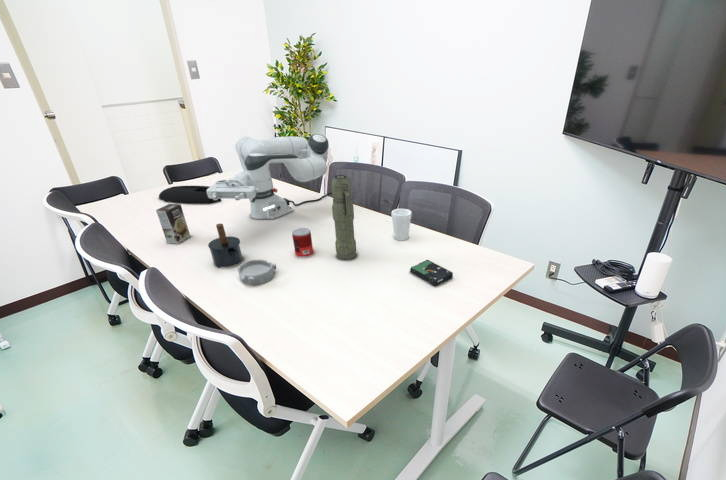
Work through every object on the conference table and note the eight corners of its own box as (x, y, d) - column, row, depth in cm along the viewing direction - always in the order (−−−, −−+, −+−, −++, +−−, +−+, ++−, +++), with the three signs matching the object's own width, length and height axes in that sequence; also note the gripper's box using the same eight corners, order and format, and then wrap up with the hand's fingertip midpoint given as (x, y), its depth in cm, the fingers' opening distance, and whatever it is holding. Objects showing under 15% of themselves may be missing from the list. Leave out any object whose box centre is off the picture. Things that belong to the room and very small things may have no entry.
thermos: (345, 263, 167) (339, 182, 147) (331, 254, 174) (322, 175, 155) (362, 257, 172) (358, 178, 152) (347, 248, 179) (341, 171, 160)
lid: (238, 236, 170) (233, 217, 165) (242, 248, 161) (237, 227, 156) (207, 242, 165) (201, 222, 160) (210, 254, 156) (204, 233, 151)
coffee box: (178, 244, 181) (167, 211, 172) (166, 243, 182) (154, 209, 173) (191, 236, 189) (181, 204, 180) (179, 235, 190) (169, 203, 181)
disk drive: (452, 278, 158) (427, 264, 167) (453, 272, 156) (427, 258, 165) (435, 287, 152) (409, 272, 161) (435, 281, 150) (409, 266, 159)
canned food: (316, 251, 176) (313, 228, 170) (307, 259, 170) (304, 235, 164) (301, 248, 178) (298, 226, 172) (292, 256, 172) (288, 233, 166)
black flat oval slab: (175, 188, 248) (172, 181, 245) (235, 192, 244) (233, 184, 241) (149, 202, 228) (146, 193, 225) (213, 206, 223) (211, 197, 220)
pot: (232, 251, 176) (227, 233, 171) (250, 263, 166) (246, 245, 162) (207, 259, 169) (201, 241, 164) (225, 273, 159) (220, 254, 155)
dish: (255, 290, 149) (252, 279, 146) (231, 280, 155) (228, 269, 152) (283, 274, 159) (281, 263, 156) (260, 265, 165) (258, 254, 162)
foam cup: (413, 235, 191) (414, 210, 184) (406, 243, 184) (406, 217, 177) (396, 232, 195) (396, 207, 187) (388, 239, 188) (388, 213, 180)
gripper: (261, 195, 178) (251, 205, 166) (216, 194, 178) (203, 205, 166) (258, 181, 174) (248, 191, 163) (212, 181, 174) (199, 191, 163)
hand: (225, 198), depth 164 cm, fingers open, 8 cm apart
